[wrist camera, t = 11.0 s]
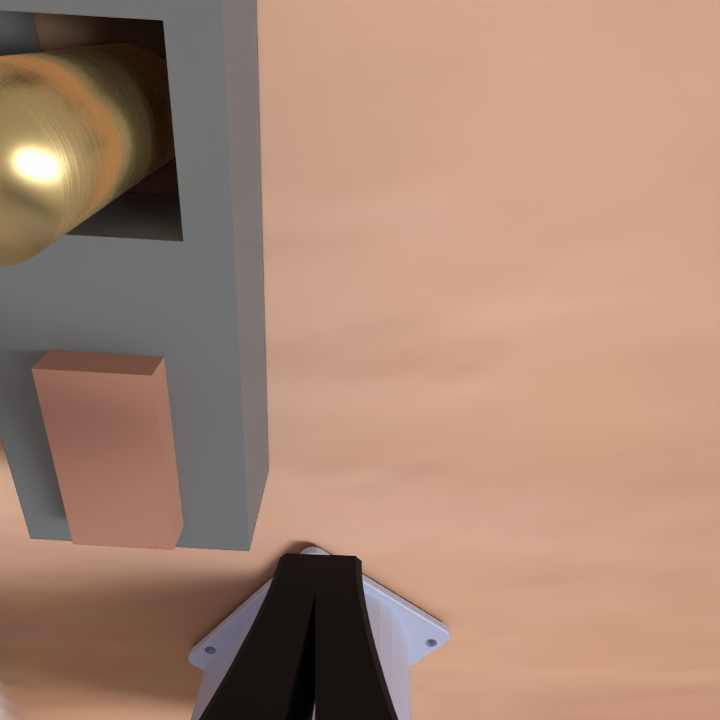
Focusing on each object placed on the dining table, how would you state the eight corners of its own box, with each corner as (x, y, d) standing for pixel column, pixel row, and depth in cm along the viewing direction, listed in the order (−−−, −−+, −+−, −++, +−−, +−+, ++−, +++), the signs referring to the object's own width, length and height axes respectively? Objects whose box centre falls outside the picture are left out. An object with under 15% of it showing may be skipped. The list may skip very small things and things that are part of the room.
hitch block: (268, 470, 23) (249, 551, 19) (83, 459, 23) (30, 538, 19) (255, -33, 15) (219, -48, 12) (-27, -50, 15) (-149, -71, 12)
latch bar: (183, 525, 19) (174, 550, 18) (87, 520, 19) (73, 544, 18) (164, 356, 16) (151, 375, 15) (50, 349, 16) (31, 368, 15)
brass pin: (156, 190, 18) (16, 301, 11) (55, 117, 17) (-168, 188, 10) (213, 98, 17) (97, 159, 10) (108, 14, 16) (-106, 14, 9)
